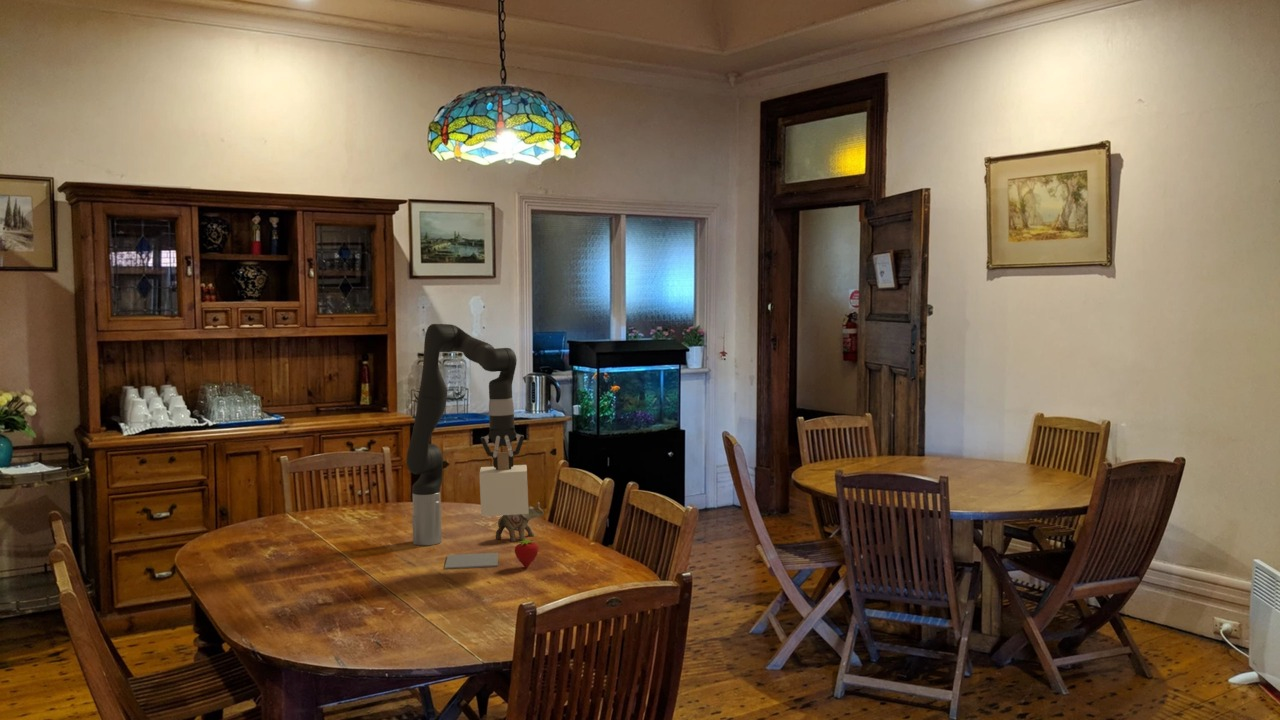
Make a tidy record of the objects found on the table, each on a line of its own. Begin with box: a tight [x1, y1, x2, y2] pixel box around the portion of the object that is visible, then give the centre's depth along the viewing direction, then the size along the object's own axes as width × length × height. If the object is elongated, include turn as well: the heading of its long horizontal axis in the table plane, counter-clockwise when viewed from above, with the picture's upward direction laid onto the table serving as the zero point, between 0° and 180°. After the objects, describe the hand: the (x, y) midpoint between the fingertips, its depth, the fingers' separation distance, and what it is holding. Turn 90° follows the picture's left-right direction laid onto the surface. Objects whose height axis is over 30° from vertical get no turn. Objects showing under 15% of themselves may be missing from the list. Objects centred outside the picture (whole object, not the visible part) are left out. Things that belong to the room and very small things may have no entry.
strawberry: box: [514, 537, 540, 568], centre depth 291 cm, size 6×8×10 cm
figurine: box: [495, 501, 544, 543], centre depth 325 cm, size 10×14×15 cm, turn 88°
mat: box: [444, 552, 499, 570], centre depth 298 cm, size 16×14×1 cm
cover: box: [478, 451, 529, 517], centre depth 292 cm, size 14×12×18 cm
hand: (503, 468), depth 292 cm, fingers closed on cover, 3 cm apart
